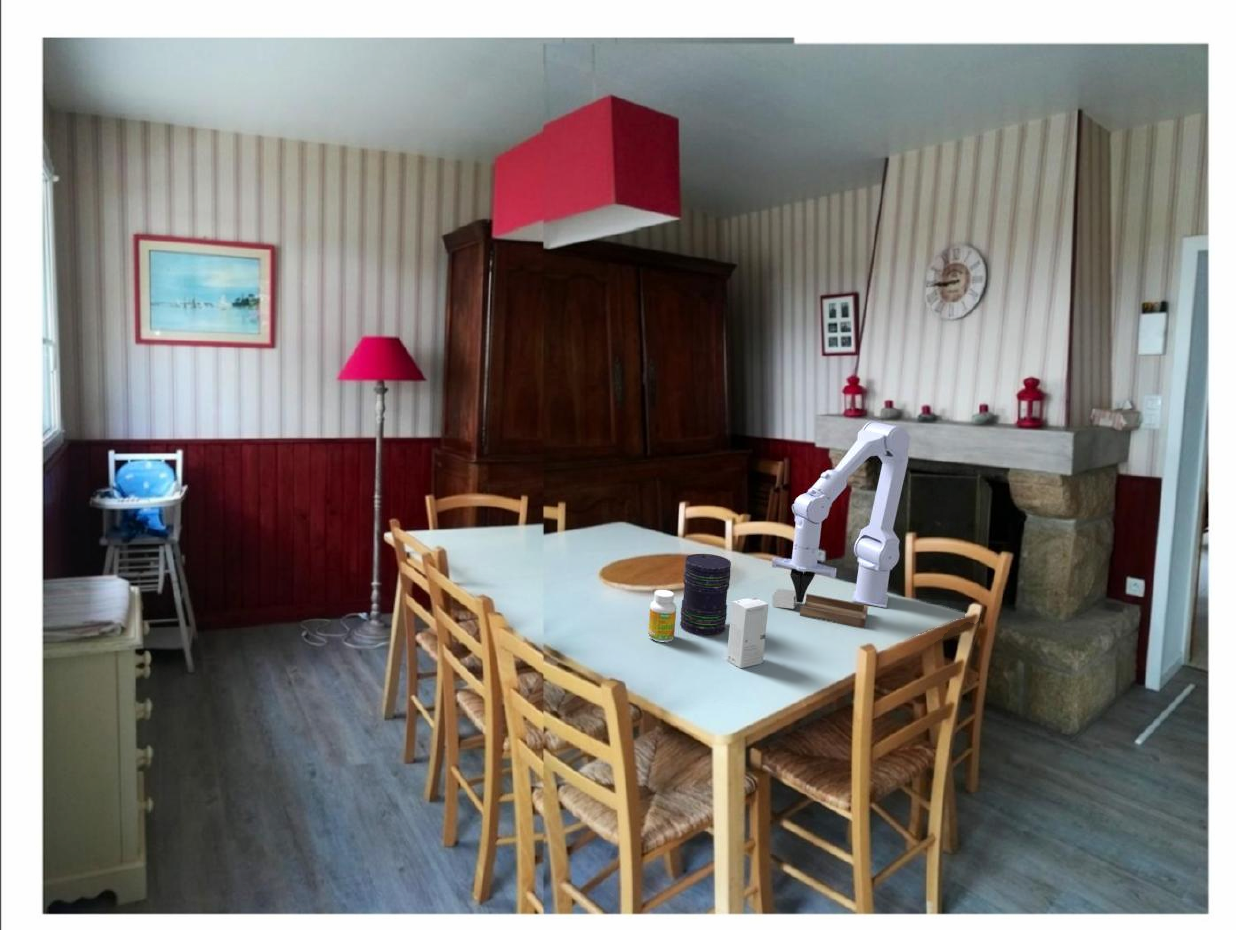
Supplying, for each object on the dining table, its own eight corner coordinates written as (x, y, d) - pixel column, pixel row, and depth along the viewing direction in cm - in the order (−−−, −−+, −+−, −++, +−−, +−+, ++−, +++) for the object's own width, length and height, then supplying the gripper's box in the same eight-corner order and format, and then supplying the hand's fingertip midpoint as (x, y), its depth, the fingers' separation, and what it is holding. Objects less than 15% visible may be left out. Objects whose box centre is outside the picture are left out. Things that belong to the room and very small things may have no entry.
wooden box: (805, 602, 174) (806, 593, 174) (867, 614, 169) (868, 605, 169) (799, 615, 166) (800, 606, 165) (863, 628, 160) (865, 619, 160)
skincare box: (740, 669, 137) (746, 609, 134) (725, 660, 140) (730, 601, 138) (764, 663, 140) (770, 604, 138) (748, 653, 144) (754, 596, 142)
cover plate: (777, 598, 176) (777, 588, 175) (798, 600, 173) (798, 590, 173) (772, 606, 170) (772, 596, 170) (793, 608, 168) (793, 598, 168)
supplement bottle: (656, 645, 145) (659, 599, 143) (643, 634, 150) (646, 590, 148) (678, 641, 148) (682, 596, 146) (665, 631, 152) (668, 587, 151)
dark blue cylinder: (732, 635, 152) (738, 568, 149) (688, 637, 150) (693, 568, 147) (715, 617, 161) (721, 553, 159) (673, 618, 159) (678, 553, 156)
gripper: (771, 544, 167) (765, 600, 169) (836, 555, 161) (829, 612, 164) (777, 537, 173) (771, 591, 175) (839, 547, 168) (833, 603, 170)
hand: (799, 601), depth 170 cm, fingers closed
